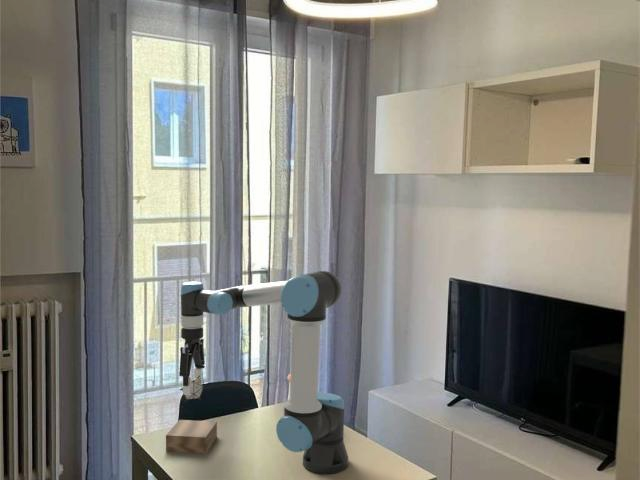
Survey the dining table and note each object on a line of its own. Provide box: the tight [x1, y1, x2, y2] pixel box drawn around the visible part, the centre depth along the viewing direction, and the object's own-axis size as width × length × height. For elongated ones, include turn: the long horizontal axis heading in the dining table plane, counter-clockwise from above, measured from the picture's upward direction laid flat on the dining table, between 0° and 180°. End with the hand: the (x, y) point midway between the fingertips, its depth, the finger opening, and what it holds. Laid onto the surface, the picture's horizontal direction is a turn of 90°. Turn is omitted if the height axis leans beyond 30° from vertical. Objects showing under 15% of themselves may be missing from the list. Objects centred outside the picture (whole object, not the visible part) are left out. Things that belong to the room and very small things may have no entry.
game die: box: [179, 375, 206, 402], centre depth 215 cm, size 9×8×10 cm
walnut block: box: [165, 419, 218, 454], centre depth 216 cm, size 14×14×6 cm
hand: (192, 390), depth 215 cm, fingers closed on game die, 8 cm apart
